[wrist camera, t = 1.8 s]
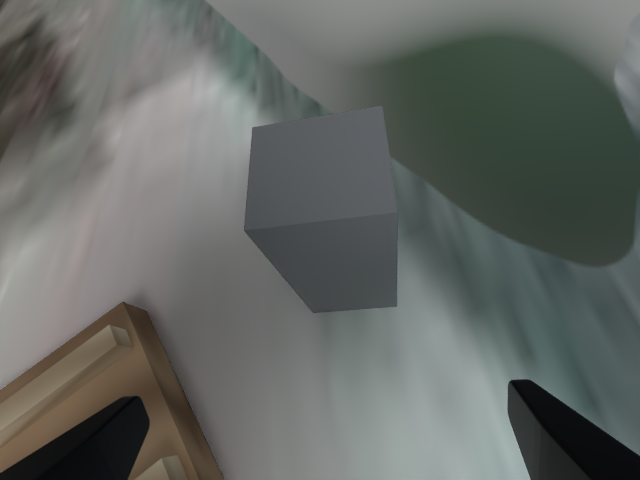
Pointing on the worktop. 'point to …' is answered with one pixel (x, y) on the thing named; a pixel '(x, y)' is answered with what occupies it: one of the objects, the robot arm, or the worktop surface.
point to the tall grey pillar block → (327, 208)
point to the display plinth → (107, 398)
